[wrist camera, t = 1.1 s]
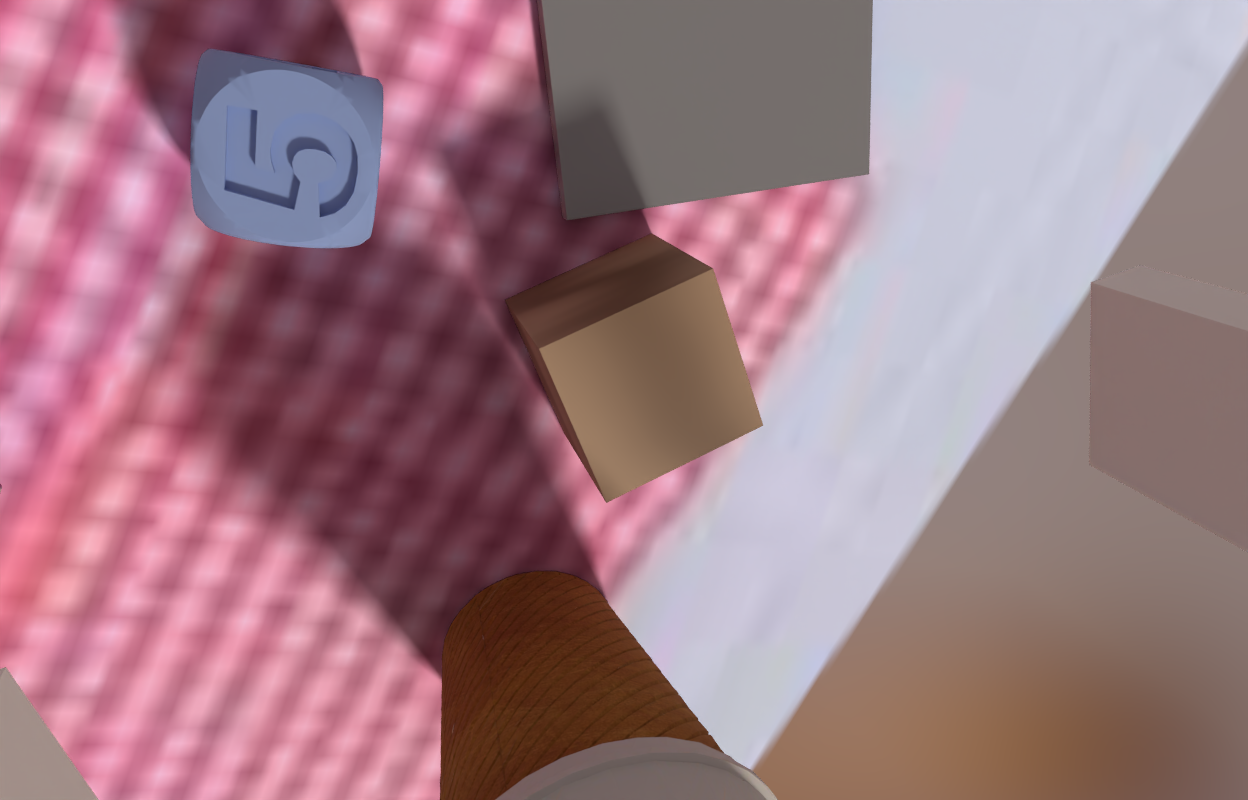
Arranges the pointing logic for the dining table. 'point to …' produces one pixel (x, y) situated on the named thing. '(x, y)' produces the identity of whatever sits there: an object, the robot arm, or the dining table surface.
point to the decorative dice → (285, 151)
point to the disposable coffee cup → (568, 706)
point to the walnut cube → (637, 362)
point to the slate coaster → (703, 97)
